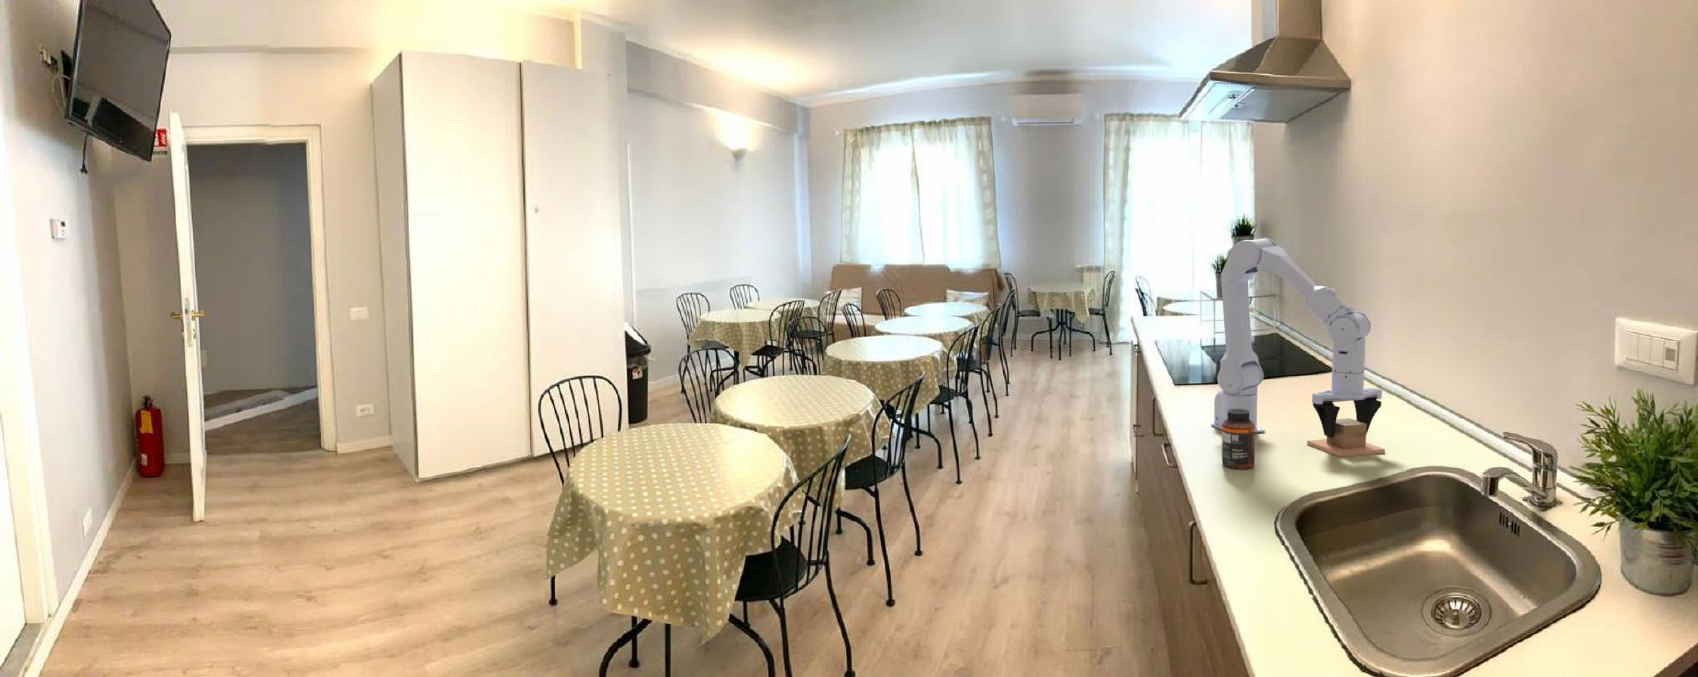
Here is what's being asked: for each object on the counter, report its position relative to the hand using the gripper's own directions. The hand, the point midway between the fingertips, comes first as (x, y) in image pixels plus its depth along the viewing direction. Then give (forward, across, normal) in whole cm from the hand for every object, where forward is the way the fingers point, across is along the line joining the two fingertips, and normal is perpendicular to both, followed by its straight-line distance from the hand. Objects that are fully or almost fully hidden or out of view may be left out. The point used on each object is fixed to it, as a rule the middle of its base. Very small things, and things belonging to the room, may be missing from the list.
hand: (1345, 434), depth 175 cm
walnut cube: (+2, 0, 0) cm, 2 cm away
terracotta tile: (+3, 0, 0) cm, 3 cm away
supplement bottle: (+3, -27, -4) cm, 27 cm away
